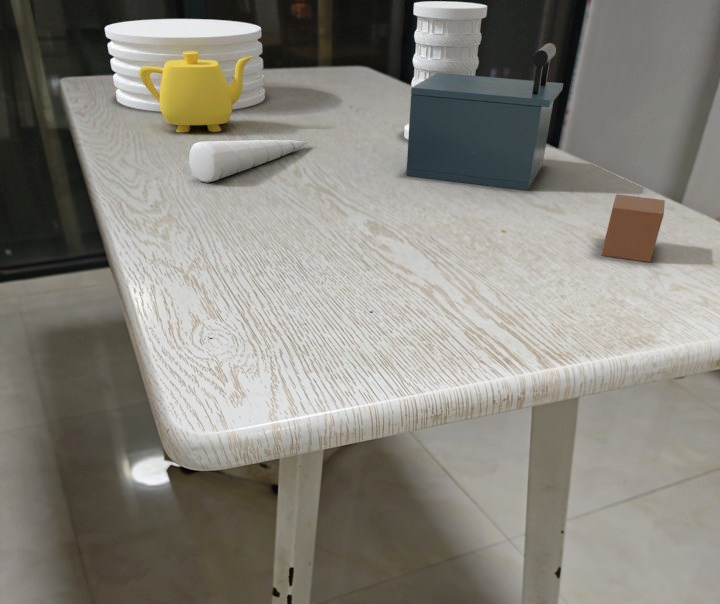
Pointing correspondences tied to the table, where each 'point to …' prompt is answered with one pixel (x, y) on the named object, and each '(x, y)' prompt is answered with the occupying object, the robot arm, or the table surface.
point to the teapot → (195, 91)
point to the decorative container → (446, 39)
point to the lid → (497, 85)
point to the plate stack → (169, 41)
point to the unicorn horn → (235, 156)
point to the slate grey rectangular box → (476, 141)
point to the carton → (633, 227)
